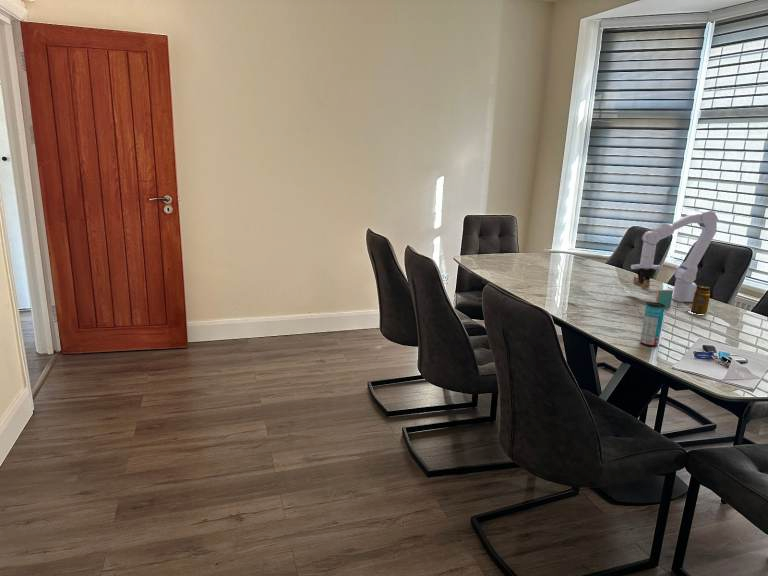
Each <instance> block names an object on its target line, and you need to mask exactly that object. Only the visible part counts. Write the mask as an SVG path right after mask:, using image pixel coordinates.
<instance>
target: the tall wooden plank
mask: <svg viewBox="0 0 768 576" xmlns="http://www.w3.org/2000/svg"><path fill="white" fill-rule="evenodd" d="M632 284H633V285H634V286H636V287H639V288H641V290H643V291H646V292H648V293H651V294H657V290H659V289H657V288H655V287H650V284H651V280H646V279H644V281H643V284H640V283H639V278H638V275H637V276H635V275H634V276H633V282H632Z"/></svg>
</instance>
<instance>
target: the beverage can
mask: <svg viewBox="0 0 768 576" xmlns="http://www.w3.org/2000/svg"><path fill="white" fill-rule="evenodd" d="M645 305H646V306H645V310H644V317H643V321H642V322H643V323H642V328H641V335H640V340H639V342H640V344H641V345H643V346H645V347H652V348H653V347H658V346H659V343H660V336H661V332H662V327H663V326H662V325H663V320H664V315H665V308H666V307H665V305H664V304H661V303H655V301H650V302H646V304H645Z"/></svg>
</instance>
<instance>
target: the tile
mask: <svg viewBox="0 0 768 576" xmlns="http://www.w3.org/2000/svg"><path fill="white" fill-rule="evenodd" d="M673 292H674V289H673V290H672V289H658V290H657V293H656V296H655V301H654V302H655V303H661V304H664V305H665V308H671V305H672V300H673V299H672V297H673Z"/></svg>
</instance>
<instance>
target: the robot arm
mask: <svg viewBox="0 0 768 576" xmlns="http://www.w3.org/2000/svg"><path fill="white" fill-rule="evenodd" d="M718 221H719V218H718V216H717V215H716V212H714V211H713V210H707V209H702V208H701V209H697V210H696V211H692V212H690V213H689V214H687V215H685V216H684V217H682V218H680V219H678V220H676V221H674V222H672V223H669V222H668V223H665V222H663V223H661V225H660V226H658V227H656V228H652V229H651V230H647V231H645V232H644V234H643V235H642V236H641V240H642V241H643V244H642V247H641V253H640V254H641V255H640V261H639V263H637V264H636V263H635V264H631V265H630V270H631V269H632V270H635V271H636V274H637V276H638V278H639V283H640V284H643V281H644V279H646V280H649V281H651V280H650V279H651V278H652V277H653V275H654V274H655V273H656V270H658V271H659V270H661V269H662V265H660V264H654V262H655V261H654V260H655V255H656V249H657V247H656V246H657V244H658V243H659V242H660V240H663V239H665V238H668V237H669V236H672V235H673V234H674V232H675V231H676V230H678V229H680V228H682V227H685V226H688V225H690V224H698V226H699V227H700V230H701V233H700V234H699V236H698V238H697V239H696V241H695V244H694V245H693V247H692V249H691V251H690V253H689V254H688V256H687V258H686V259H685V261H683V262H682V263H680V265H679V266H678V267H677V268H676V269H675V270H674V277H675V282H674V288H673V294H672V300H673V301H676V302H678V303H693V298H694V293H695V292H696V289H697V286H698V285H697V284H696V283H695V282H694V281H696V279H697V273H698V271H699V270H698V265H699V263H700V262H701V260H702V257H703V256H704V255H705V253H706V251H707V249H708V248H709V246H710V244H711V242H712V241H713V239H714V237H715V235H716V233H717V230H718V229H717V227H718V226H717V223H718Z"/></svg>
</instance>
